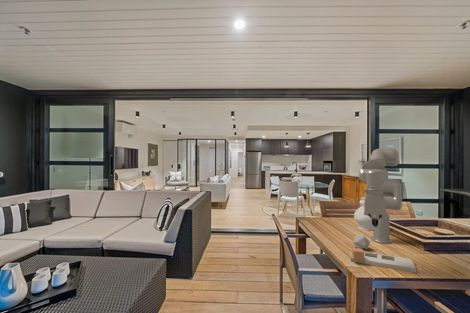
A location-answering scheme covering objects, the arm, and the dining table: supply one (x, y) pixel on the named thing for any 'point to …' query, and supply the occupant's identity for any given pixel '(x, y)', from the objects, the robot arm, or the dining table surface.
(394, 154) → the robot arm
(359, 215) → the decorative vase
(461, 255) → the dining table surface
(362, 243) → the die
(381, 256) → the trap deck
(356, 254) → the block
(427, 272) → the dining table surface
